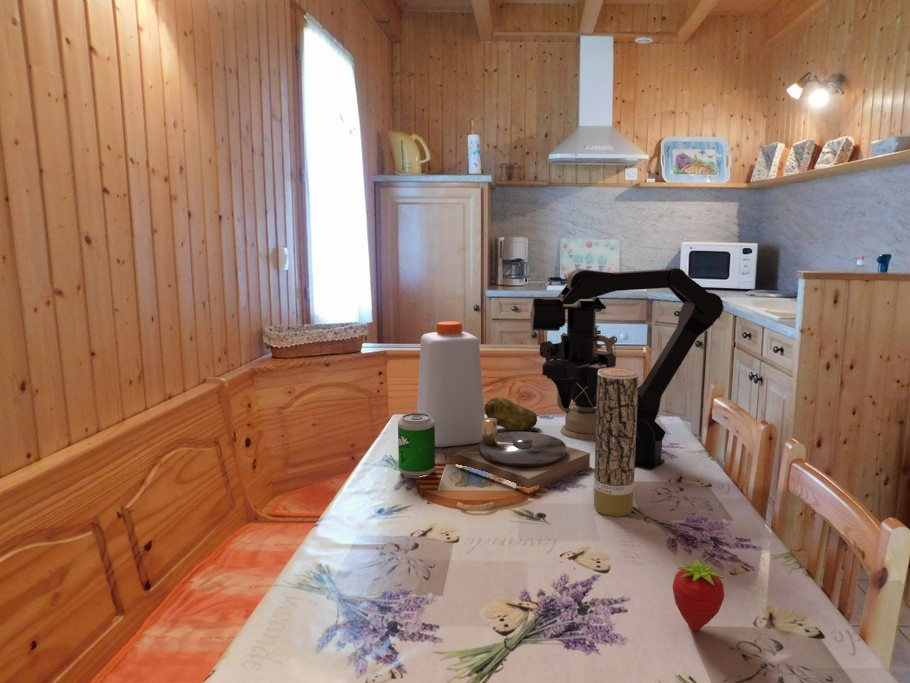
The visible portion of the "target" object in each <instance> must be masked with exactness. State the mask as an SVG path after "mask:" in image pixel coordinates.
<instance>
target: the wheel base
mask: <svg viewBox="0 0 910 683" xmlns="http://www.w3.org/2000/svg"><path fill="white" fill-rule="evenodd" d="M590 456H591V453H590V452H588V451H585V450H581V449H577V448H573V447H571V446H567V445H566V456H565V457H564V458H563V459H562V460H561V461H559V462H557V463H554V464H550V465H546V466H538V467H514V466H506V465H501V464H497V463H494V462H491V461H489V460H487V459H485V458H484V457H482V456H481V454H480V444H479V445H475V446H472V447H469V448H466V449H463V450H460V451H458V452H455V453H454V465H455V464H458V465H462V466H467V467H471V468H474V469H478V470H481V471H485V472H488V473H491V474H493V475H496V476H498V477H500V478H503V479H506V480H509V481H511V482H514V483H516V484H517V485H518V486H521V487H526V488H531V487H534V486H537V485H539V489H538V490H540V489H542V488H545V487H547V486H549V485H551V484H554V483H556V482H558V481H560V480H563V479H565V478H567V477H569V476H571V475H573V474H576V473H578V472H580V471H582V470H583V471H584V470H585V469H587V468H589V467H590V466H591V465H590V463H591V461H590V460H591V457H590Z"/></svg>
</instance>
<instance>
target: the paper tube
mask: <svg viewBox="0 0 910 683" xmlns="http://www.w3.org/2000/svg"><path fill="white" fill-rule="evenodd" d="M639 378H640V377H639V371H637V370H635V369H631V368H630V369H629V368H625V367H623V368H622V367H615V368H603V369H599V370H598V375H597V404H596V405H597V406H596V407H595V408H596V439H595V440H594V441H595V443H594V444H595V445H594V474H593V475H594V476H593V477H594V479H593V507H594V509H595V510H596V511H597V512H599V513H600V514H602V515H605V516H609V517H623V516H627V515H629V514H631V512H632V511H633V509H634V490H635V472H636V471H635V469H636V466H635V449H636V425H637V401H638V387H639Z"/></svg>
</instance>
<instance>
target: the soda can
mask: <svg viewBox="0 0 910 683" xmlns="http://www.w3.org/2000/svg"><path fill="white" fill-rule="evenodd" d="M397 442H398V445H397V447H398V449H397V450H398V470H399V472H400V473H401V474H402V475H403V476H404V477H406V478H409V479H418V478H417V477H419V476H423V475H427V474H430V473H431V472H432V473H433V472H434V471H435V470H436V447H435V421H434V420H433V419H432V418H431V416H430V415H428V414H425V413H417V412H412V413H406V414H403V415H402V416H401V418H400V419H399V420H397ZM432 473H431V474H432ZM431 474H430V475H431Z"/></svg>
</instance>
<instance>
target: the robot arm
mask: <svg viewBox="0 0 910 683" xmlns="http://www.w3.org/2000/svg"><path fill="white" fill-rule="evenodd" d="M565 284H566V285H565V286H564V287H563V289H562V290H561V291H560V293H559V294H558V295H557V297H556V298H541V297H533V298H532V304H531V312H530V330H531V331H532V332H538V331H539V332H540V331H541V332H546V331H547V332H549V331H552V332H555V331H556V332H557V331H560V330H561V328H563V327H565V326H566V334H567V335H563V336H562V338H561V337H560V340H561V341H559V342H558V343H553V342H552V341H551V340H547V341H543V342H540V344H539V355H540V357H541V358H545V362H544V363H543V364H542V366H541V375H542V376H545V377H546V379H549V380H551V381H552V382H553V384H554V385H555V386H556V389H557V391H558V392H559V395H560V398H561V402H562V405H563V407H564V408H566V409H568V408H570V405H571V404H572V401H573V400H572V396H573V393H574V389H575V385H576V382H577V378H575V375H576V374H577V369H580V368H583V369H584V370H585V372H586V373H587V381H588V396H589V400H594V399H595V397H596V395H597V375H598V370H599V369H603V368H610V367H613V366H615V367H616V366H617V362H616V361H617V356H616V357H615V353H614V352H613V353H614V354H613V353H611V352H607V351H605V350H604V351H603V350H598V349H597V350H595V341H597V342H600V341H599V336H598V335H599V334H598V335H595V325H596V320H597V319H596V316H597V315H596V313H597V310H606V309H607V306H606V305H605V304H604V303H603V302H602V301H601V299H600V296H604V295H608V294H610V293H614V292H620V291H621V292H622V291H637V290H638V291H639V290H640V291H641V290H653V289H656V290H657V289H669V290H670V291H671V292H672V294H674V296H675V297H676V298H677V299H678V300H679V301H680V302H682V306H681V308H680V310H679V314H678V321H677V325H676V328H675V329H674V331H673V333H672V335H671V336H670V338H669V340H668V341H667V343H666V344H665V347H664V348H663V349H662V351H661V353H660V354H659V356H658V358H657V359H656V360H655V363H654V364H653V366H652V367H651V369H650V370H649V371H648V372H649V373H647V376H646V378H645V380H644V381H643V383H641V385H638V401H637V425H636V449H635V467H639V468H642V469H646V470H653V469H655V468H656V467H658V466H661V465H663V464H665V463H666V462H665V461H666V460H665V459H664V458H662V452H663V451H662V450H663V440H664V437H665V435H666V430H665V429H664V428H662V427H661V425H660V424H658V423H657V422H656V419H657V417H658V415H659V411H660V406H661V401H662V396H663V394H664V393H665V391H666V389H667V388H668V387H669V385H670V383H671V382H672V380H673V378H674V376H675V375H676V374H677V371H678V370H679V368H680V366H681V365H682V364H683V361H684V360H685V359H686V357H687V355H688V353H689V352H690V350H691V349H692V347H693V346H694V344H695V342H696V340H697V338H699V337H700V336H701V335H703V334H704V333H705V332H706V331H708V330H709V329H710V328H711V327H712V326H713V325H714V324H715V323H716V321H718V319H719V318H720V317H721V315H722V314H723V313H724V308H725V306H724V303H723V299H722V298H721V297H720V295H718V294H716V293H714V292H711V291H710V292H709V291H707V290H706V289H705V288H704V286H701V285H700V284H699V283H698V282H696V281H695V280H693V278H691V277H690V276H689V275H687V273H686V272H685V271H684V270H683V269H682V268H677V267H668V268H661V269H650V270H649V269H648V270H647V269H646V270H634V271H633V270H632V271H615V272H610V271H602V270H601V271H600V270H594V269H593V270H591V269H587V268H586V269H585V268H578V269H574V270H572V271H571V272H570V273H569V274H568V276H567V278H566V282H565ZM591 298H592V300H587V299H591ZM566 311H567V313H566ZM566 315H567V316H566ZM566 318H567V320H566ZM564 360H566V361H564ZM576 364H577V365H576ZM570 403H571V404H570Z"/></svg>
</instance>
